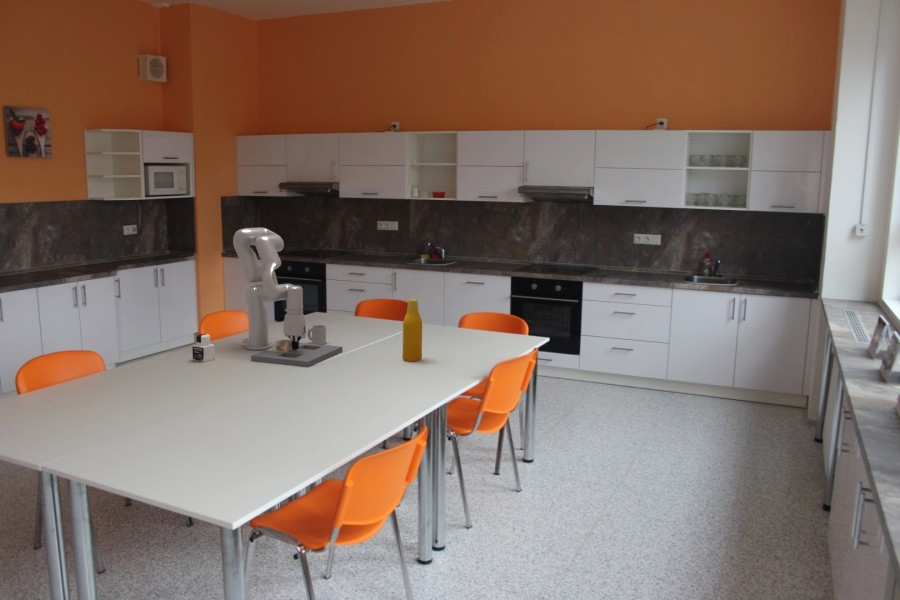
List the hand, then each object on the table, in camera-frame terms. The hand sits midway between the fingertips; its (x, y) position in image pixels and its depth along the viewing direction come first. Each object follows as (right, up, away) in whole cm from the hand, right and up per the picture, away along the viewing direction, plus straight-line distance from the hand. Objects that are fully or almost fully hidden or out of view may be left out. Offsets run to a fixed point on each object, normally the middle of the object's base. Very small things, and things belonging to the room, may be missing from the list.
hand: (295, 349), depth 370 cm
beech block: (-5, 0, +1) cm, 6 cm away
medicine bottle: (-41, -4, -11) cm, 42 cm away
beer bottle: (+56, -5, -3) cm, 57 cm away
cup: (+5, +1, +29) cm, 30 cm away
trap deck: (+1, -3, 0) cm, 3 cm away
